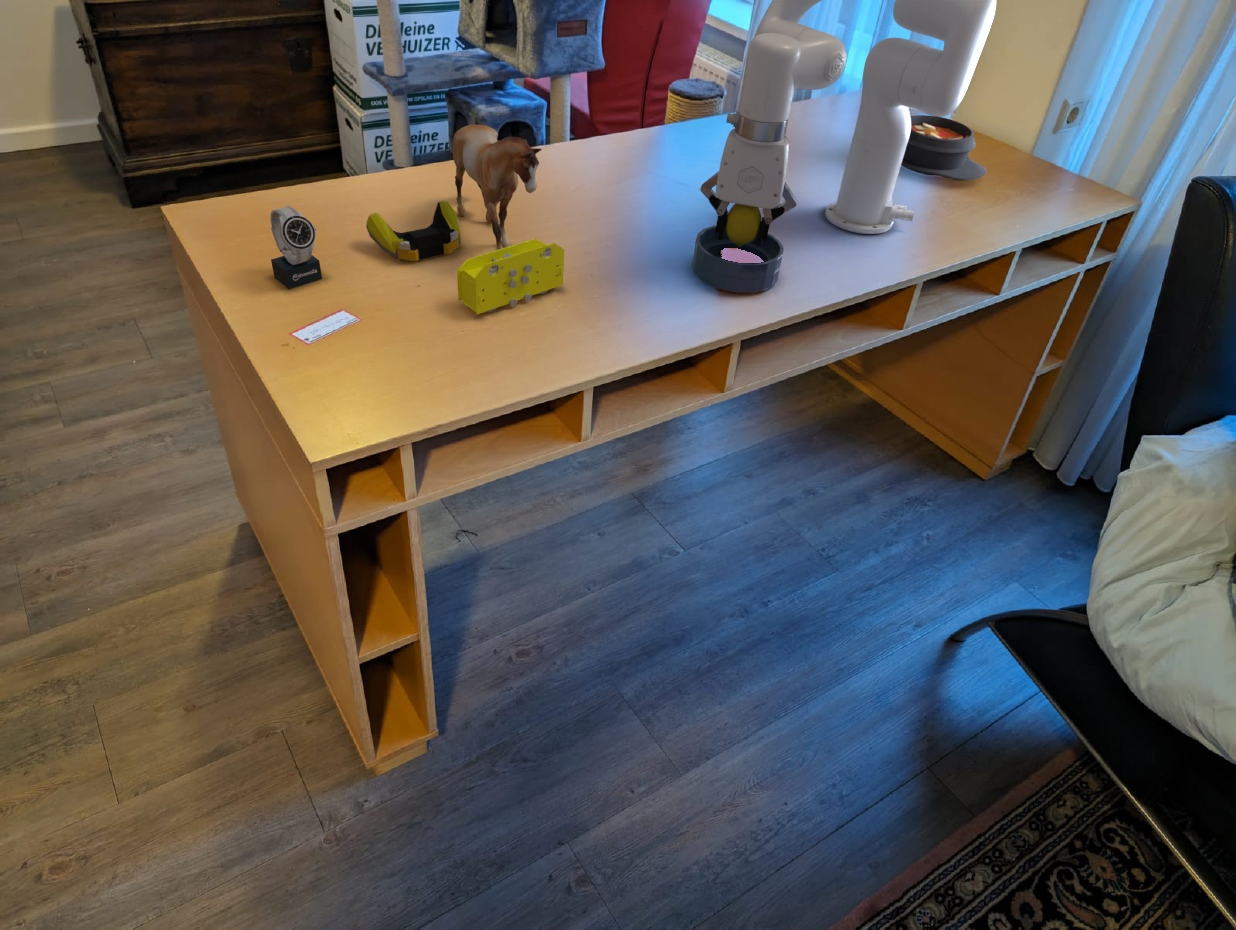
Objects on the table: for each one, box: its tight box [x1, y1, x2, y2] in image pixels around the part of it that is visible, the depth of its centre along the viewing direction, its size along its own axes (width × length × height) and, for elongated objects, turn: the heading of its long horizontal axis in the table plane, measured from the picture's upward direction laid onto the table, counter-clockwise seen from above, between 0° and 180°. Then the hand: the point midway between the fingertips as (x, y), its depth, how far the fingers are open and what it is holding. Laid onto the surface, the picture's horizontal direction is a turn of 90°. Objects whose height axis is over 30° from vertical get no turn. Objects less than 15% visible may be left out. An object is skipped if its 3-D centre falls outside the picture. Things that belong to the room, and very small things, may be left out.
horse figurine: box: [452, 124, 543, 250], centre depth 142 cm, size 31×8×21 cm, turn 23°
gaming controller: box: [365, 200, 462, 262], centre depth 142 cm, size 15×6×10 cm
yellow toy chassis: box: [456, 238, 565, 315], centre depth 131 cm, size 16×6×8 cm, turn 131°
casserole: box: [901, 114, 987, 182], centre depth 187 cm, size 25×19×8 cm
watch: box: [269, 205, 323, 290], centre depth 130 cm, size 6×8×11 cm
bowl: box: [691, 224, 785, 294], centre depth 144 cm, size 14×14×6 cm
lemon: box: [726, 203, 762, 247], centre depth 139 cm, size 6×6×8 cm
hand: (740, 238), depth 141 cm, fingers closed on lemon, 5 cm apart
